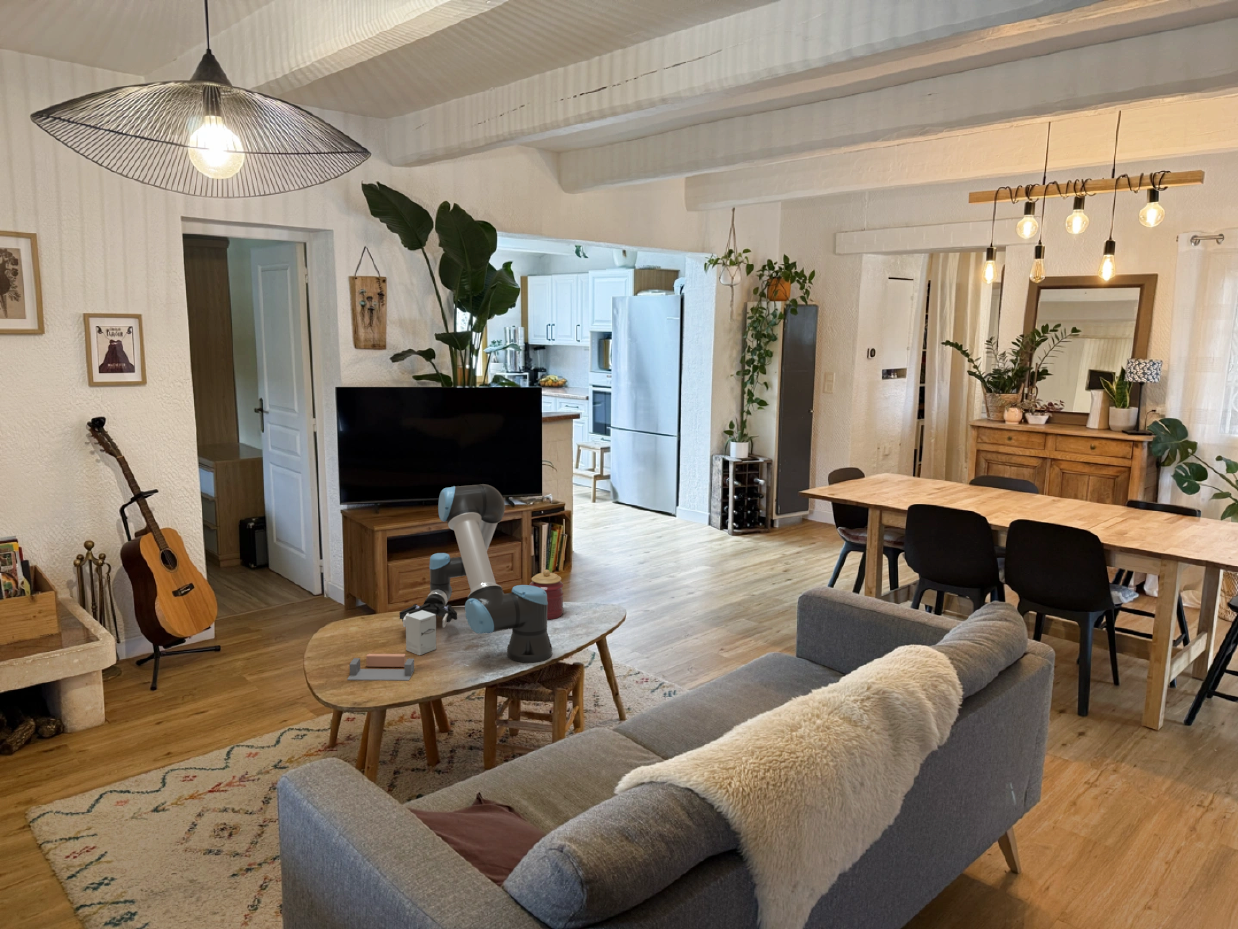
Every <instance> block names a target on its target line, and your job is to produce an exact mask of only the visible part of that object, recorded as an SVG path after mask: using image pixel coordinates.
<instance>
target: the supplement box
mask: <svg viewBox="0 0 1238 929" xmlns="http://www.w3.org/2000/svg"><path fill="white" fill-rule="evenodd" d="M435 650H437V616H436V614H433V613H430V612H427V611H423V610H421V611H418V612H415V613H412V614H409V615H406V627H405V651H407V652H410V653H412V654H415V655H416V656H422V655H424V654H427V653H429V652H432V651H435Z"/></svg>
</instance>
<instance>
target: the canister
mask: <svg viewBox="0 0 1238 929" xmlns="http://www.w3.org/2000/svg"><path fill="white" fill-rule="evenodd" d="M529 585H531V586H536V587H539V588H542V589H543V590H545V592H546V593H547V602H548V605H547V620H554V619H558V618H561V617H562V616H563V613H564V604H563V603H564V591H563V587H564V583H563V582H562V577H561V576H560V575H558V574H557V573H554V572H551V571H550V570H549V569H544V570H543V572H540V573H536V574H535V575H534V576H532V577H531V582H530V583H529Z"/></svg>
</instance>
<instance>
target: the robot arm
mask: <svg viewBox="0 0 1238 929" xmlns="http://www.w3.org/2000/svg"><path fill="white" fill-rule="evenodd" d="M437 507H438V508H437V509H438V510H437V511H438V517H439V520H440V521H441V522H444V523H445V522H447V526H448V528H449V529H450V530H452V531H454V535H455V538H456V542H457V545H458V549H459V554H460V556H457V557H456V556H455V557H451V556H450V554H449V553H446V552H437V553H434V554H432V555H430V557H429V565H428V568H429V593H428V595H427V596H426V598H425V600H424V602H423V604H422V605H420V606H419V605H418V604H417V603H414V604H413V605H411V606H409V607H407V608H405V609H403V610H401V611H399V620H401V622H402V627H403V628H406V615H409V614H412V613H415V612H418V611H421V610H423V611H427V612H430V613H433V614H436V617H441V618H442V628H444V629H445V628H446V626H447V624H448V623H450V622H451V621H452V620H454V621H457V620H458V612H457V611H456V610H455V609H454V608H453V607H452V604H448V601H450V598H451V597H452V594H453V588H452V586H451V579H452V578H459V577H465V576H466V579H467V583H468V586H469V589H470V593H469V594H468V595H467V600H466V601H465V604H464V612H465V618H466V621H467V623H468V626H469V627H470V629H471V631H473V632H474V633H476V634H479V635H481V634H482V635H483V634H491V633H495V632H500V631H506V630H512V631H511V636H510V638H509V643H508V645H507V648H506V655H507V657H508V658H509V659H510V660H511V661H515V662H518V663H527V664H528V663H538V662H542V661H545V660H548V659H550V657H552V655H553V646H552V643H551V640H550V636H549V633H548V619H547V605H548V602H547V593H546V592H545V590H543V589H542V588H539V587H536V586H531V585H528V584H518V585H514V586H513V587H512V589H511V592H508V593H505V592H504V590H503V587H502V585H500V584H498V583H496V578H495V574H494V573H493V569H492V565H491V561H490V558H489V554H488V550H489V548H490V544H491V542H492V539H493V536H494V534H495V531H496V529H497V526H498V523H500V522H502V520H503V518H504V515H505V511H506V504H505V500H504V497H503V496H502V493H501V492H500V491H499V490H498V489H497V488H495V487H494V486H492V485H489V484H484V483H482V484H481V483H480V484H472V485H461V486H459V485H457V486H455V485H453V486H451V487H445V488H443V489H442V490H441V491H440V493H439V497H438V505H437Z"/></svg>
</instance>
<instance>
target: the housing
mask: <svg viewBox="0 0 1238 929" xmlns="http://www.w3.org/2000/svg"><path fill="white" fill-rule="evenodd" d="M403 668H404V669H401V668H400V669H399V668H395V669H394V668H361V658H359V657H353V659H352V660H351V661H350V663H349V676H348V677H347V679H346V680H347V681H410V679H411V677H412V675H413V673H414V671H415V658H406V663H405V665H404V667H403Z"/></svg>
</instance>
